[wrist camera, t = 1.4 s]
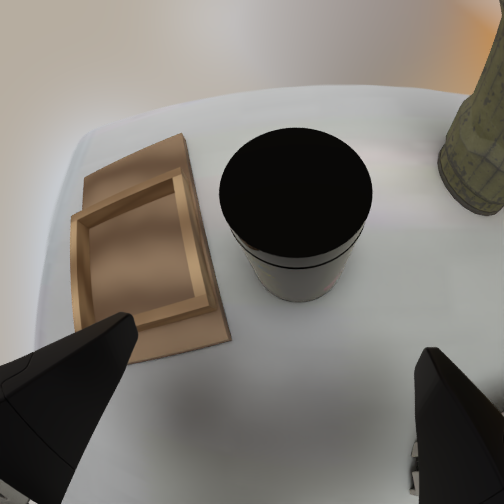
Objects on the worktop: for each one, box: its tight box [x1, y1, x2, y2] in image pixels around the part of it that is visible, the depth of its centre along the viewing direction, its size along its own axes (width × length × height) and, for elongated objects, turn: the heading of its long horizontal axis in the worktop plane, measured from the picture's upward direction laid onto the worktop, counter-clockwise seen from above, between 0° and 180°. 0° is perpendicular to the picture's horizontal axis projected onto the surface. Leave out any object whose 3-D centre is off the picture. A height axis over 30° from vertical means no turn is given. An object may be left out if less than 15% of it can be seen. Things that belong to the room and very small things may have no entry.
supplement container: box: [219, 128, 372, 302], centre depth 17 cm, size 7×7×10 cm
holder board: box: [70, 133, 232, 365], centre depth 23 cm, size 20×12×3 cm, turn 16°
